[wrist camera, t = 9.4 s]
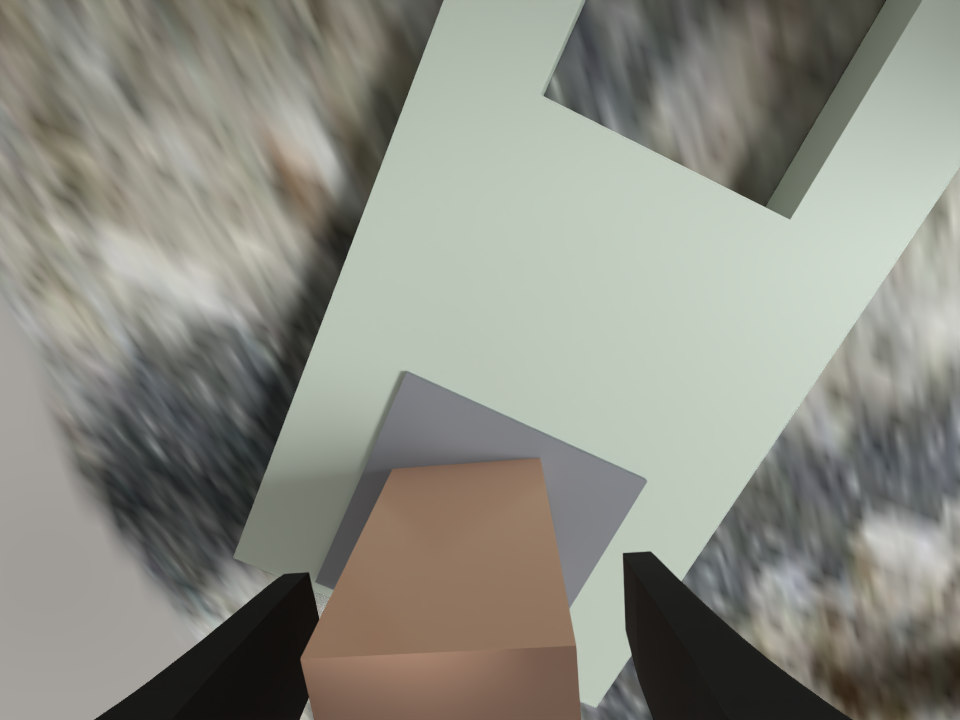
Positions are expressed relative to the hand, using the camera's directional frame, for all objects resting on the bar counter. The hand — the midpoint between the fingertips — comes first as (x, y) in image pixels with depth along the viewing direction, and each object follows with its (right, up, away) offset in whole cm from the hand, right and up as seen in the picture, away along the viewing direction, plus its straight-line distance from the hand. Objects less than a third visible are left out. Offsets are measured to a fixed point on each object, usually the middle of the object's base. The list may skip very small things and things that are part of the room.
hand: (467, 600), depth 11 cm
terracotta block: (0, +1, +2) cm, 3 cm away
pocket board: (+3, +7, +2) cm, 8 cm away
